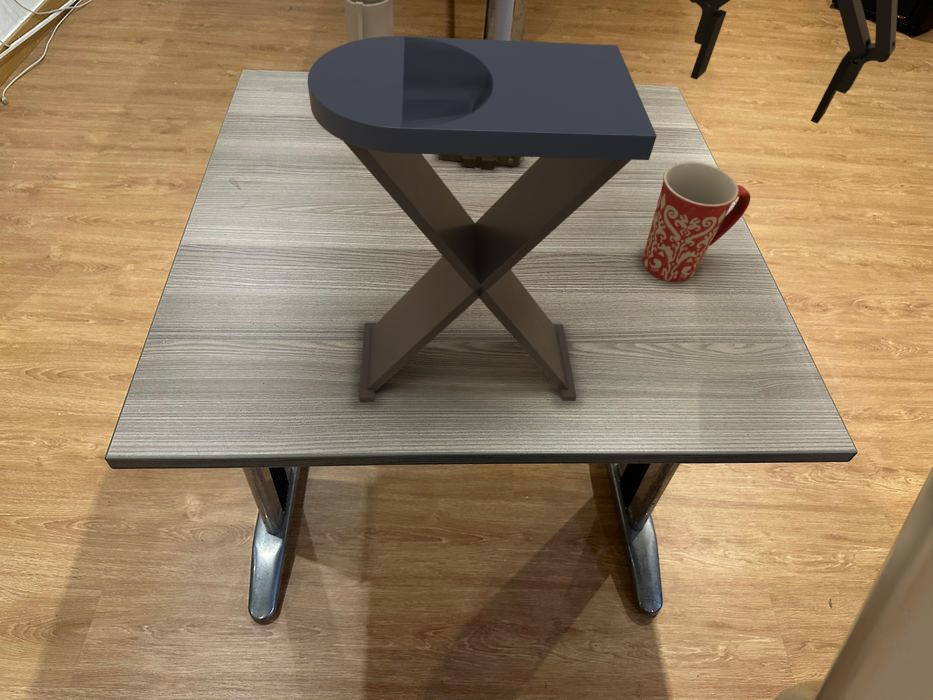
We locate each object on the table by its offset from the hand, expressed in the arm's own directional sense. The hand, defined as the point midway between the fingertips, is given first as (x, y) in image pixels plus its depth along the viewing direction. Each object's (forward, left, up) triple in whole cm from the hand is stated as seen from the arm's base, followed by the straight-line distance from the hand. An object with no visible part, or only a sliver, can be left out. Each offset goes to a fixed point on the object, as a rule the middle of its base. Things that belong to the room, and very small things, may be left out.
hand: (755, 95), depth 71 cm
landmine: (+38, -5, -25) cm, 46 cm away
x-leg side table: (+14, +34, -25) cm, 44 cm away
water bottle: (+55, +2, -24) cm, 61 cm away
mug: (0, +1, -25) cm, 25 cm away
